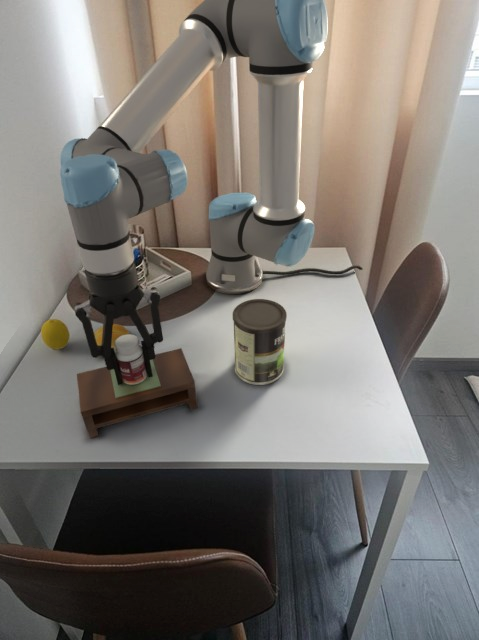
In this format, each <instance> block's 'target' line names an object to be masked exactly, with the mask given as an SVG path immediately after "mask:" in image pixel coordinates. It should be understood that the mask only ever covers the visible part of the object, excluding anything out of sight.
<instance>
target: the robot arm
mask: <svg viewBox="0 0 479 640" xmlns="http://www.w3.org/2000/svg"><path fill="white" fill-rule="evenodd" d="M328 31H329V19H328V10H327V6H326V1H325V0H203V1H202V2H200V3H199V4H198V5H197V6H196V7H195V8H194V9H193V10H192V11H191V12H190V13H189V14H188V15H187V17H185V19H184V20H183V21H182V22H181V23H180V24H179V28H178V36H177V37H176V38H175V39H174V41H173V42H172V43H171V44H170V45H169V46H168V47H167V48H166V50H164V52H163V53H162V55H160V57H159V58H158V59H157V60H156V61H155V62H154V63H153V65H151V67H150V68H149V69H148V70H147V71H146V72H145V74H143V76H142V77H141V78H140V79H139V80H138V81H137V82H136V84H135V85H134V86H133V87H132V88H131V89H130V90H129V92H127V94H126V95H125V96H124V97H123V99H121V101H120V102H119V103H118V104H117V105H116V106H115V108H113V109H112V111H111V112H110V113H109V114H108V115H107V117H105V119H104V120H103V121H102V122H101V123H100V124H99V126H98V127H97V128H96V129H95V130H94V131H93V132H92V133H91V134H90V135H89V137H87V138H85V137H84V138H83V137H81V138H73V139H70V140H68V141H67V143H66V144H65V145H64V146H63V148H62V150H61V152H60V157H59V161H60V162H59V163H60V169H59V174H60V175H59V176H60V182H61V183H60V184H61V187H62V192H63V199H64V203H65V204H66V208H67V211H68V214H69V217H70V221H71V225H72V229H73V233H74V236H75V239H76V244H77V248H78V252H79V256H80V259H81V262H82V267H83V269H84V274H85V278H86V282H87V286H88V289H89V296H88V300H86V301H84V302H82V303H81V302H75V303H74V314H75V317H76V318H77V319H78V320H79V322H80V323H81V324H82V328H83V331H84V333H85V334H84V335H85V338H86V342H87V345H88V348H89V352H90V355H91V357H92V358H93V359H96V358H98V357H102V358H103V360H104V363H105V367H107V369H108V370H112V369H114V371H115V375H116V379H117V383H118V385H121V384H122V380H121V375H120V372H119V368H118V364H117V360H116V356H115V351H114V347H113V348H111V343H112V329H113V324H114V320H115V319H118V318H121V317H129V318H130V319H131V321H132V322H133V324H134V326H135V328H136V329H137V331H138V333H139V335H140V337H141V339H142V340H140V345H141V347H142V348H143V353H144V358H145V363H146V368H147V373H148V376H149V377H152V376H153V375H152V369H151V364H150V360H152V359H155V357H156V356H155V354H156V351H155V344H156V343H162V342H164V335H163V329H162V328H163V327H162V322H161V316H160V310H159V309H160V308H159V305H160V300H161V294H160V293H159V290H158V288H157V287H155V286H152V287H151V288H150V289H149V288H143V287H142V285H140V283H139V277H138V276H139V275H138V272H137V266H136V262H135V255H134V250H133V244H132V239H131V233H130V227H129V219H132V218H134V217H137V216H139V215H140V214H144V213H145V212H149V211H150V210H153V209H156V208H158V207H160V206H162V205H165V204H169V203H170V202H171V201H172V200H174V199H176V198H178V197H180V196H181V195H183V194H184V192H185V191H186V189H187V186H188V182H189V180H188V179H189V178H188V170H187V167H186V165H185V163H184V161H183V160H182V158H181V157H180V156H179V155H178V154H177V153H176V152H175V151H174V150H171V149H168V148H167V149H166V148H164V149H160V150H156V149H155V150H153V151H151V152H150V153H141V152H142V151H143V150H144V148H146V146H147V145H148V144H149V143H150V142H151V140H152V139H153V138H154V137H155V135H156V134H157V133H158V131H160V130H161V128H162V127H163V126H164V125H165V124H166V122H167V121H168V120H169V119H170V117H171V116H172V115H173V114H174V112H176V110H177V109H178V108H179V107H180V105H181V104H182V103H183V102H184V101H185V100H186V98H187V97H188V96H189V95H190V93H191V92H192V91H193V90H194V89H195V88H196V87H197V85H198V84H199V83H200V82H201V81H202V80H203V78H204V77H205V76H206V75H207V74H208V73H209V71H211V72H212V71H216V70H218V69H219V68H220V67H221V65H222V64H223V63H224V62H225V61H227V60H229V59H233V58H237V57H242V58H248V64H249V67H248V68H249V74H250V75H251V76H252V77H253V78H254V79H255V81H256V82H257V109H258V110H257V112H258V113H257V115H258V164H259V165H258V167H259V169H258V170H259V172H258V173H259V175H258V178H259V200H257V198H256V196H255V195H254V194H252V193H250V192H230V193H226V194H222V195H219V196H217V197H215V198H214V199H212V200H211V201H210V203H209V205H208V226H209V237H210V238H209V239H210V240H209V241H210V250H211V255H210V259H209V261H208V265H207V269H206V272H205V279H206V284H207V286H208V287H209V288H210V289H212V290H213V291H215V292H218V293H221V294H226V295H239V294H240V295H241V294H245V293H249V292H252V291H253V290H256V289H257V288H258V287H259V286H260V285H261V284H262V282H263V275H275V276H276V275H277V276H287V275H289V276H290V275H295V274H300V273H306V272H307V273H308V272H314V273H323V274H327V275H343V274H347V273H348V272H350V271H352V270H354V269H358V270H359V271H363V270H364V268H363V267H362V266H361V265H359V264H353V265H351V266H349V267H347V268H345V269H342V270H327V269H322V268H315V267H308V268H300V269H293V270H289V271H277V270H276V271H275V270H263V269H262V267H261V264H260V261H259V259H262V260H266V261H269V262H271V263H273V264H274V265H280V266H283V267H287V268H291V267H294V266H296V265H297V264H299V263H300V262H301V261H302V260H303V259H304V257H305V256H306V255H307V253H308V251H309V249H310V247H311V244H312V242H313V239H314V235H315V224H314V223H313V221H312V220H310V219H309V218H305V216H306V206H305V204H304V203H303V202H302V201H301V200H300V199H299V195H300V174H301V173H300V172H301V150H302V149H301V148H302V146H301V145H302V127H303V123H302V122H303V103H304V101H303V99H304V98H303V97H304V81H305V79H306V78H307V76H309V74H310V73H311V72H312V70H313V62H315V61H317V60H318V59H319V58H320V57H321V55H322V54H323V52H324V49H325V44H326V43H327V40H328ZM143 298H144V299H145V302H146V303H148V307H149V313H150V320H151V325H152V331H153V332H151V333H150V331H149V330H148V328H147V326H146V324H145V322H144V320H143V318H142V317H141V314H140V313H139V311H138V309H137V308H138V306H139V305H140V303H141V302H142V299H143ZM92 309H94V310H95V311H97V312H98V313H99V314H101V315H102V316H103V319H102V326H103V333H102V344H101V345H97V342H96V338H95V335H94V333H95V331H94V328H93V324H92V320H91V316H92Z"/></svg>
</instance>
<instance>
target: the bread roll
mask: <svg viewBox="0 0 479 640" xmlns="http://www.w3.org/2000/svg"><path fill="white" fill-rule="evenodd" d="M102 333H103V325H102V326H100V327H99V328H98V329H97V330H95V331H94V335H95V338H96V342H97V345H101V344H102ZM126 334H130V331H129V330H128V328H126V327H125V326H124V325H121V324H118V323H113V329H112V343H111V348H113V347H114V351H115V352H116V347H115V341H116V339H117V338H119V337H120V336H122V335H126Z"/></svg>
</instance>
